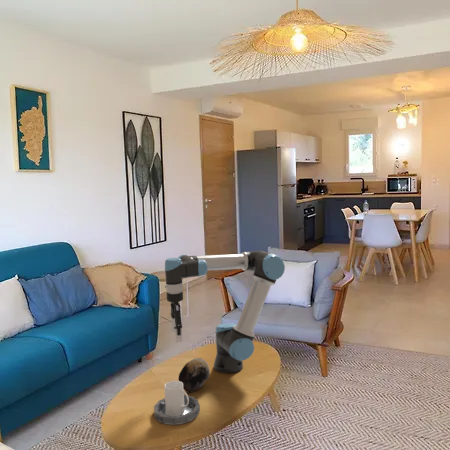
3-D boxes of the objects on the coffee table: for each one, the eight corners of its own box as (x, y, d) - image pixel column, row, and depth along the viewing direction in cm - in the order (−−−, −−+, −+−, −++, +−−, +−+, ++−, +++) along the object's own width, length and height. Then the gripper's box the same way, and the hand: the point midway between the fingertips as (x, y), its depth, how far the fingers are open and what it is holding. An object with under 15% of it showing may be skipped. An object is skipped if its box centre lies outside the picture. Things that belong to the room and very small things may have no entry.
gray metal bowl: (195, 398, 210) (194, 392, 209) (203, 420, 191) (202, 413, 191) (153, 405, 205) (152, 398, 205) (157, 428, 187) (156, 421, 186)
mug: (195, 412, 197) (193, 385, 195) (181, 421, 190) (179, 393, 189) (174, 404, 204) (173, 378, 203) (161, 412, 197) (159, 386, 196)
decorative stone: (202, 380, 227) (200, 351, 226) (214, 385, 221) (213, 355, 220) (174, 394, 215) (173, 363, 213) (187, 400, 209) (186, 368, 207)
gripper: (163, 286, 223) (166, 328, 225) (169, 300, 199) (172, 347, 201) (179, 284, 224) (181, 326, 227) (186, 298, 200) (189, 345, 203)
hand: (177, 336), depth 214 cm, fingers open, 13 cm apart
